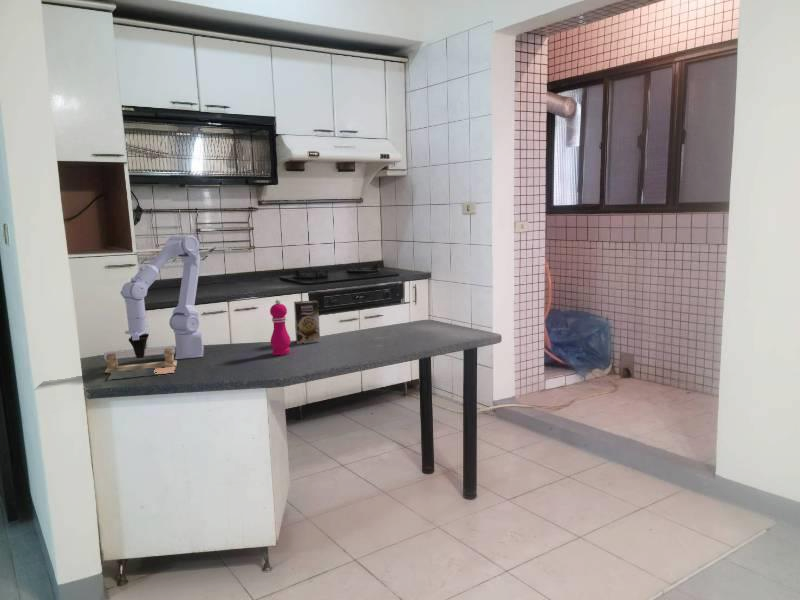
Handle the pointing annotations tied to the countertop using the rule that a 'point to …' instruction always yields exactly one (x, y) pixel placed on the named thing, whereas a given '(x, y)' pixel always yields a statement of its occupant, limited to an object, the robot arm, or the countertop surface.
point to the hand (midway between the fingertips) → (140, 356)
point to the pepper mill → (279, 330)
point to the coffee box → (307, 322)
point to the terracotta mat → (164, 370)
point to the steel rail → (146, 352)
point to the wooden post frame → (113, 364)
